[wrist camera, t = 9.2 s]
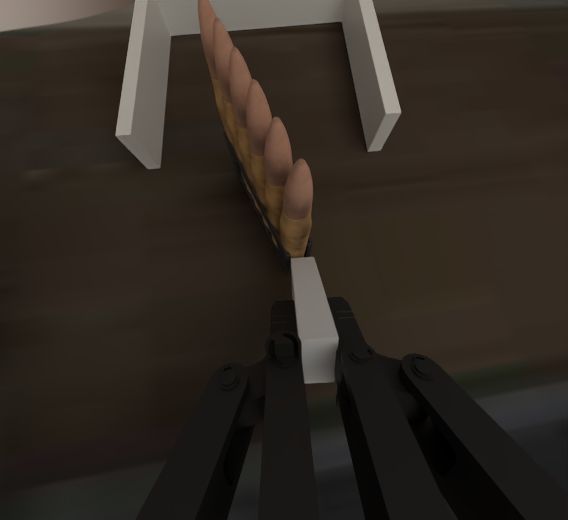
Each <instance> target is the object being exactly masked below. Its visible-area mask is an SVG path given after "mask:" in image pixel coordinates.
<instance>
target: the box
mask: <svg viewBox="0 0 568 520" xmlns="http://www.w3.org/2000/svg"><path fill="white" fill-rule="evenodd" d="M209 2H210V4H211V6H212V8H213V10H214V12H215V14H216V16H217V18H219V19H220V20H221V22H222V24H223V25H224V27H225V29H226V30H227V31H236V30H248V29H260V28H272V27H284V26H296V25H308V24H319V23H331V22H342V26H343V31H344V36H345V41H346V46H347V51H348V56H349V61H350V66H351V71H352V76H353V81H354V86H355V91H356V96H357V101H358V106H359V111H360V116H361V121H362V126H363V131H364V136H365V141H366V146H367V151H368V152H371V151H380V150H381V148H382V147H383V145H384V143H385V141H386V139H387V138H388V136H389V134H390V132H391V130H392V129H393V127H394V125H395V123H396V121H397V120H398V118H399V116H400V114H401V110H400V106H399V102H398V98H397V94H396V90H395V86H394V83H393V79H392V75H391V71H390V67H389V63H388V60H387V56H386V52H385V48H384V44H383V40H382V36H381V33H380V29H379V25H378V21H377V17H376V13H375V9H374V6H373V2H372V0H209ZM200 33H201V32H200V25H199V17H198V0H135V6H134V12H133V19H132V26H131V33H130V40H129V46H128V53H127V60H126V67H125V73H124V80H123V87H122V94H121V101H120V107H119V114H118V121H117V128H116V135H115V136H116V137H117V138H118V139H119V140H120V141H121V142H122V143H123V144H124V145H125V146H126V147H127V148H128V149H129V150H130V151H131V152H132V153H133V154H134V155H135V156H136V157H137V159H138V160H139V161H140V162H141V163H142V164H143V165H144V166H145V167H146V168H147V169H158V168H160V167H161V154H162V142H163V130H164V117H165V105H166V93H167V80H168V68H169V56H170V43H171V36H176V35H188V34H200Z"/></svg>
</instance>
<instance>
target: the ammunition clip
mask: <svg viewBox="0 0 568 520" xmlns="http://www.w3.org/2000/svg"><path fill="white" fill-rule="evenodd" d="M198 17H199V25H200V32H201V38H202V43H203V47H204V52H205V56H206V60H207V63H208V66H209V70H210V75H211V79H212V82H213V86H214V90H215V98H216V103H217V107H218V110H219V113H220V116H221V119H222V122H223V125H224V128H225V131H226V132H224V136H225V139H226V142H227V145H228V147H229V150H230V153H231V156H232V159H233V162H234V165H235V168H236V171H237V173H238V176H239V178H240V181H241V183H242V185H243V187H244V189H245V191H246V193H247V195H248V197H249V199H250V201H251V203H252V205H253V207H254V209H255V211H256V213H257V215H258V217H259V219H260V221H261V223H262V225H263V227H264V229H265V231H266V233H267V235H268V237H269V239H270V241H271V243H272V245H273V247H274V249H275V251H276V253H277V255H278V257H279V259H280V261H281V263H282V265H283V267H284V269H285V271H286V274H288V275H289V274H291V258H303V257H309V255H310V251H311V247H312V241H311V239H310V238H309V234H310V230H311V226H312V220H311V210H312V207H311V206H312V200H313V184H312V177H311V173H310V169H309V167H308V165H307V163H306V162H305V160H304V159H299V160H297V161H296V163H295V164H294V165H293V163H292V154H291V147H290V142H289V138H288V135H287V132H286V129H285V127H284V125H283V123H282V122H281V120H280V119H279V118H278V117H274V118H273V119H272V116H271V112H270V109H269V105H268V103H267V100H266V97H265V95H264V92H263V90H262V88H261V87H260V85H259V83H258V82H257V81H256V80H255V79H253V80H252V78H251V75H250V73H249V70H248V68H247V65H246V63H245V61H244V59H243V57H242V55H241V53H240V52H239V50H238V49H237V48H236V47H234V46H233V44H232V41H231V39H230V37H229V34H228V32H227V30H226V29H225V27H224V25H223V24H222V22H221V20H220V19H219V18H217V16H216V14H215V12H214V10H213V8H212V6H211V4H210V2H209V0H198Z"/></svg>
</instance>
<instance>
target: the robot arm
mask: <svg viewBox="0 0 568 520" xmlns="http://www.w3.org/2000/svg"><path fill="white" fill-rule="evenodd" d="M291 275H292V296H293V300H287V301H275V303H274V305H273V306H272V309H271V329H270V336H269V338H268V339H267V341H266V344H265V347H266V354H267V355H266V356H265V358H264V359H263V360H261V361H260V362H258V363H256V364H254V365H251V366H249V367H246V368H244V367H243V366H242V365H239V364H237V363H231V364H227V365H224V366H222V367H221V368H220V369H218V370H217V371H216V372H215V374H214V375H213V376H212V378H211V380H210V382H209V384H208V386H207V388H206V389H205V391H204V393H203V395H202V397H201V399H200V401H199V402H198V404H197V406H196V408H195V410H194V412H193V414H192V415H191V417H190V419H189V421H188V423H187V425H186V427H185V428H184V430H183V432H182V434H181V436H180V438H179V440H178V441H177V443H176V445H175V447H174V449H173V451H172V453H171V455H170V456H169V458H168V460H167V462H166V464H165V466H164V468H163V469H162V471H161V473H160V475H159V477H158V479H157V481H156V482H155V484H154V486H153V488H152V490H151V492H150V494H149V495H148V497H147V499H146V501H145V503H144V505H143V507H142V508H141V510H140V512H139V514H138V516H137V518H136V520H227V518H228V514H229V511H230V507H231V504H232V501H233V497H234V494H235V491H236V487H237V484H238V480H239V477H240V474H241V470H242V467H243V463H244V460H245V457H246V453H247V450H248V446H249V443H250V440H251V436H252V433H253V430H254V426H255V424H256V423H258V422H261V421H263V420H264V428H263V446H262V464H261V482H260V501H259V519H258V520H319V514H318V505H317V495H316V486H315V477H314V467H313V458H312V449H311V439H310V430H309V421H308V411H307V402H306V393H305V383H325V382H334V380H335V377H336V381H337V386H338V387H337V396H336V407H339V406H340V410H341V415H342V419H343V423H344V428H345V432H346V437H347V441H348V445H349V450H350V454H351V459H352V463H353V467H354V472H355V476H356V480H357V485H358V489H359V494H360V498H361V502H362V507H363V511H364V516H365V520H453V518H452V516H451V514H450V512H449V510H448V507H447V505H446V503H445V501H444V499H443V497H442V495H443V496H444V498H445V500H446V501H447V503H448V504H449V506H450V507H451V509H452V511H453V512H454V514H455V515H456V517H457V518H458V520H568V494H567V493H566V492H565V491H564V490H563V489H562V488H561V487H560V486H559V485H558V484H557V483H556V482H555V481H554V480H553V479H552V478H551V477H550V476H549V475H548V474H547V473H546V472H545V471H544V470H543V469H542V468H541V467H540V466H539V465H538V464H537V463H536V462H535V461H534V460H533V459H532V458H531V457H530V456H529V455H528V454H527V453H526V452H525V451H524V450H523V449H522V448H521V447H520V446H519V445H518V444H517V443H516V442H515V441H514V440H513V439H512V438H511V437H510V436H509V435H508V434H507V433H506V432H505V431H504V430H503V429H502V428H501V427H500V426H499V425H498V424H497V423H496V422H495V421H494V420H493V419H492V418H491V417H490V416H489V415H488V414H487V413H486V412H485V411H484V410H483V409H482V408H481V407H480V406H479V405H478V404H477V403H476V402H475V401H474V400H473V399H472V398H471V397H470V396H469V395H468V394H467V393H466V392H465V391H464V390H463V389H462V388H461V387H460V386H459V385H458V384H457V383H456V382H455V381H454V380H453V379H452V378H451V377H450V376H449V375H448V374H447V373H446V372H445V371H444V370H443V369H442V368H441V367H440V366H439V365H438V364H436V363H435V362H434V361H433V360H431V359H430V358H428V357H425V356H423V355H419V354H408V355H406V356H404V357H403V359H402V360H397V359H393V358H388V357H385V356H382V355H379V354H377V353H376V352H375V351H374V350H373V348H371V347H370V346H369V345H367V344H366V342H365V340H364V338H363V336H362V333H361V331H360V329H359V326H358V324H357V322H356V320H355V318H354V315H353V313H352V310H351V308H350V306H349V304H348V302H347V301H345V300H344V299H343V298H342V297H333V298H326V295H325V291H324V288H323V285H322V282H321V278H320V275H319V272H318V269H317V265H316V262H315V259H314V257H303V258H291ZM441 493H442V494H441Z"/></svg>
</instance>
